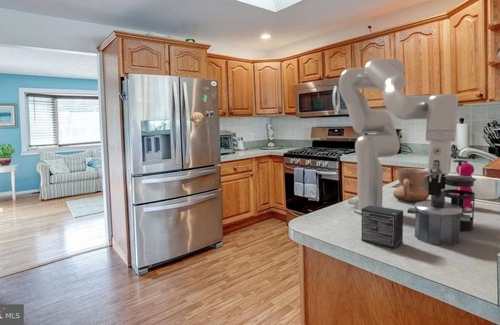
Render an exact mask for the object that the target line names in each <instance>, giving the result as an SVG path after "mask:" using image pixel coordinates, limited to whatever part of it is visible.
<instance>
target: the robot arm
mask: <svg viewBox="0 0 500 325" xmlns="http://www.w3.org/2000/svg"><path fill="white" fill-rule="evenodd" d="M404 73H405V65H404V63H403V62H402V61H401V60H400V59H398V58H387V57H386V58H383V57H382V58H381V57H379V58H373V59H371V60H369V61H367V63H366V64H365V66H364V67H351V68H347V69H345V70H343V72H342V73H341V74H340V77H339V80H338V89H339V94H340V95H341V98H342V100H343V101H344V104H345V106H346V109H347V111H348V112H347V113H348V115H349V119H350V120H349V121H350V122H351V125H352V128H353V130H354V132H355V133H357V134H363V135H361V136H359V137H358V138H357V139H356V141H355V143H354V149H355V150H354V151H355V154H356V156H355V157H356V162H357V164H356V165H357V198H356V199H353V198H348V200H347V203H348V205H354V206H353V209H352V210H353V211H354V213H357V214H360V215H362V208H365V207H367V206H369V205H372V206H378V207H383V185H384V183H383V182H384V181H383V180H384V179H383V178H384V177H383V176H384V174H383V173H384V172H383V170H384V169H383V166H382V164H381V161H380V159H379V158H388V157H393V156H396V155H397V154H398V152H399V150H400V148H401V145H400V138H399V136H398V133H397V130H396V128H395V124H394V122H393V119H392V116H391V115H390V114H389V113H388V112H387V111H385V110H382V109H381V110H380V109H371V107H370V105H369V101H368V99H367V98H366V96H365V95H364V94H363V92H361V91H360V90H362V89H363V90H374V89H379V90H380V91H381V92H382V101H383V102H382V103H383V104H384V107H385V108H386V109H387V110H388V111H389V112H390V113H392V115H394V116H395V117H396V118H398V119H400V120H404V121H406V120H407V121H408V120H412V121H413V120H426V128H425V129H426V133H425V142H429V147H428V164H427V165H428V168H427V170H428V171H427V172H428V174H429V180H428V190H427V191H428V194H429V196H431V195H434V196H441V191H442V190H446V184H445V183H446V176H449V174H450V172H451V164H452V162H451V161H452V160H451V159H452V143H453V142H456V134H457V121H458V106H459V104H458V103H459V97H458V96H457V95H456V94H453V93H441V94H440V93H439V94H432V95H429V94H428V95H426V94H425V95H422V94H419V95H415V94H414V95H408V94H406V93H404V92H403V90H404V88H405V87H406V84H407V77H406V75H405V74H404Z"/></svg>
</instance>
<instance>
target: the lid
mask: <svg viewBox="0 0 500 325" xmlns="http://www.w3.org/2000/svg"><path fill="white" fill-rule="evenodd" d="M445 201H446V197H445V192H443V191H442V190H441V196H434V195H430V201H429V200H427V201H426V200H424V201H422V202H414V203H415V204H414V208H415V210H417V211H419V212H421V213H425V214H429V215H435V216H458V215H461V214H462V208H461V207H460V206H457V205H454V204H451V202H450V203H449V202H445Z"/></svg>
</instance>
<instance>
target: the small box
mask: <svg viewBox="0 0 500 325" xmlns="http://www.w3.org/2000/svg"><path fill="white" fill-rule="evenodd" d="M403 229H404V210H401V209H396V208H390V207H384V206H382V207H378V206H372V205H369V206H367V207H365V208H362V214H361V239H360V240H361V241H362V242H365V243H368V244H373V245H378V246H381V247H385V248H388V249H392V250H396V249H398V247H400V246H401V245H402V244H403V238H404V237H403V236H404V235H403V231H404V230H403Z"/></svg>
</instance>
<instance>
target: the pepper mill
mask: <svg viewBox="0 0 500 325" xmlns="http://www.w3.org/2000/svg"><path fill="white" fill-rule="evenodd" d="M464 160H466V161H468V162H462V166H461V168H460V176H465V177H471V178H473V175H472V174H474V173H475V168H474V165H472V164H471V163H469V160H468V159H467V158H466V159H464ZM455 171H456V173H457V175H456V176H459V166H458V165H457V166H456V167H455ZM455 190H458V187H456V188H455ZM459 190H465V191H470V192H473V193H474V191H473V189H472V187H459ZM452 194H453V195H458V193H452ZM464 195H466V194H464ZM463 206H465V207H469V208H471V209H473V199H464V204H463Z"/></svg>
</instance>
